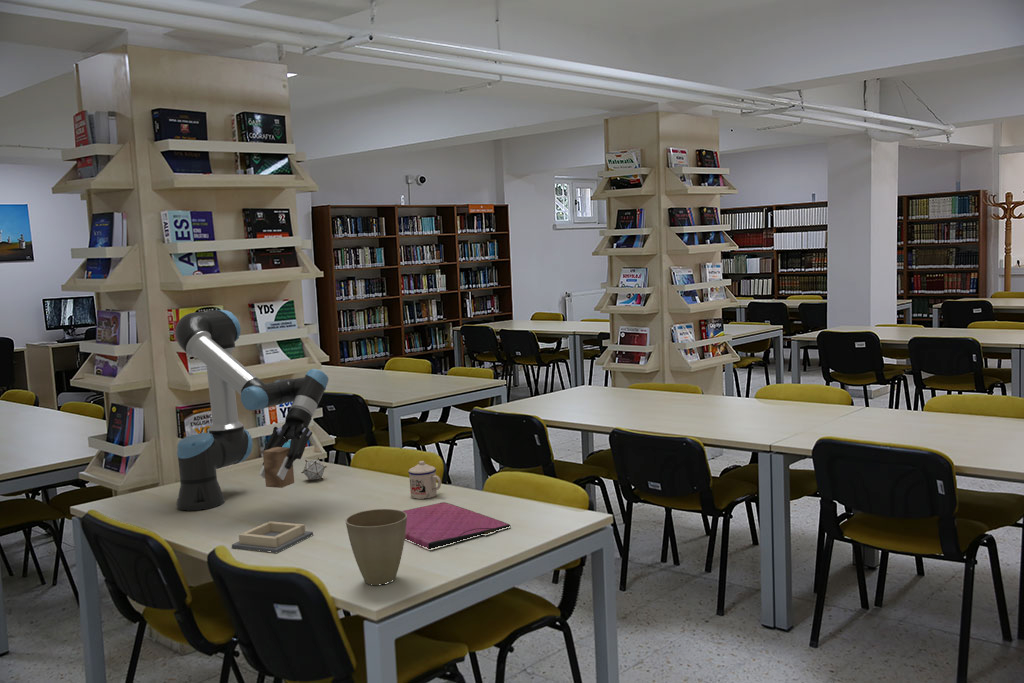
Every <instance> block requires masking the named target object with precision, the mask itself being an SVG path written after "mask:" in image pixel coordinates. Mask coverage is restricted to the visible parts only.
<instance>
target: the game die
mask: <svg viewBox="0 0 1024 683" xmlns="http://www.w3.org/2000/svg"><path fill="white" fill-rule="evenodd" d="M304 461H305V464H304V468H303V471H302V472H301V474H304V475H305V477H306V478H307V479H308V483H310V482H311V481H313V480H319V479H320V480H322V481H324V478H323V475H324V472H325V469H326V468H327V467H328V466H327V465H325V466H324V464H323V463H322V462H321V461H320V457H317V459H312V460H307V459H304Z"/></svg>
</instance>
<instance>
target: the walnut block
mask: <svg viewBox="0 0 1024 683" xmlns="http://www.w3.org/2000/svg"><path fill="white" fill-rule="evenodd" d="M289 449H290V447H285V446H282V447H274V448H271V449H268V450H265V451H263V450H262V452H263V453H262V457H263V462H264V470H265V479H264V481H265V487H266V488H276V489H277V488H278V489H279V488H280V489H283V488H285V487H288V486H290V485H293V484H295V474H294V473H295V472H294V463H293V464H292V466H291V468H290V469H288V471H287V474H286V476H285V478H284V480H281V479H280V478H279V477H278V476H277V474H278V472H279V470H280V467H281V465H282V463H283V461H284V459H285V457H288V458H289V456H288V455H287V454H289Z"/></svg>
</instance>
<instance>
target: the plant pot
mask: <svg viewBox="0 0 1024 683" xmlns="http://www.w3.org/2000/svg"><path fill="white" fill-rule="evenodd" d="M403 511H404V510H399V509H394V508H393V509H392V508H391V509H390V508H377V509H367V510H364V511H359V512H356V513H353V514H351V515H348V517H346V519H345V527H346V530H347V534H348V539H349V542H350V546H351V550H352V553H353V556H354V559H355V562H356V564H357V568H358V570H359V572H360V575H361V576H362V578H363V581H364V583H365V582H366V583H368V584H372V585H371V586H373V585H379V584H385V583H387V582H390V581H392V580H394V579H395V580H396V578H397V575H398V571H399V568H400V564H401V560H402V555H403V551H404V546H405V541H406V540H405V533H406V523H407V514H406V513H405V512H403ZM395 580H394V581H395ZM366 583H365V584H366ZM368 584H367V585H368ZM379 586H380V585H379Z"/></svg>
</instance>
